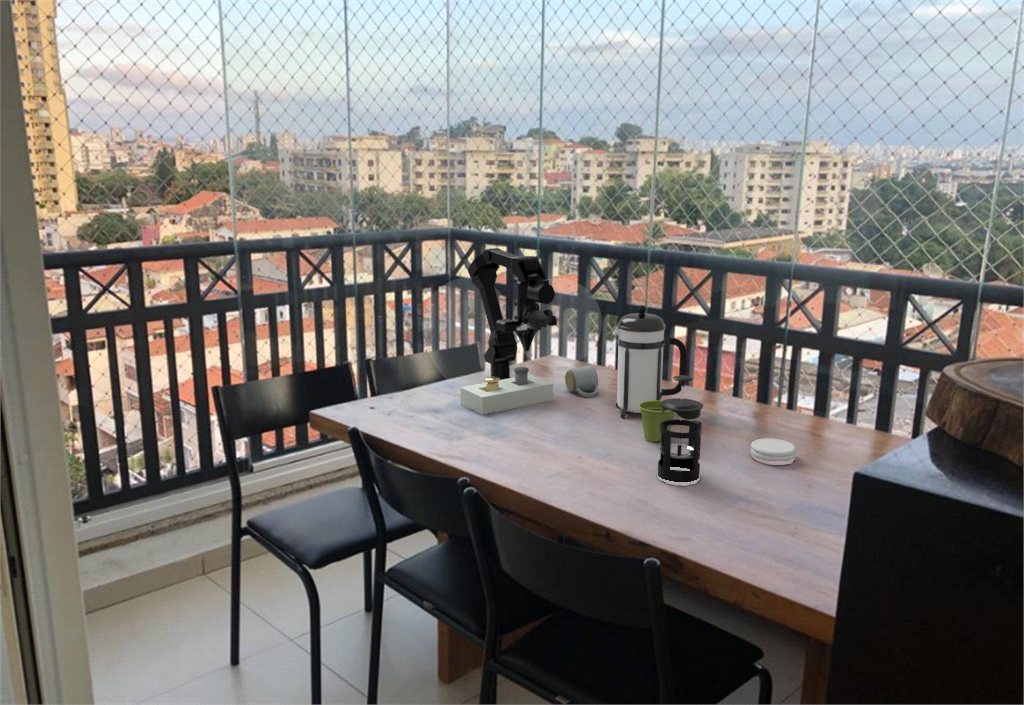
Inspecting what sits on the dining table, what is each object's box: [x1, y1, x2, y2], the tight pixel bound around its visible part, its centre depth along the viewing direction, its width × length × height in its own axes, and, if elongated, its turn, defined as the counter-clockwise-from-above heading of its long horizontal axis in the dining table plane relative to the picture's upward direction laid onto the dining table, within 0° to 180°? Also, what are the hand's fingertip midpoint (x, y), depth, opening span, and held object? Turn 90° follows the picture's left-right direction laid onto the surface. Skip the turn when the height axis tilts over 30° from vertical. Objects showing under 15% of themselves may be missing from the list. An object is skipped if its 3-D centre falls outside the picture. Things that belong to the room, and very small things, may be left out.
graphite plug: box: [513, 366, 529, 386], centre depth 230 cm, size 4×4×8 cm
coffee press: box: [612, 304, 688, 419], centre depth 215 cm, size 17×16×30 cm
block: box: [459, 374, 554, 415], centre depth 228 cm, size 12×24×5 cm, turn 123°
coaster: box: [750, 437, 797, 461], centre depth 184 cm, size 10×10×4 cm
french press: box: [657, 374, 704, 482], centre depth 171 cm, size 12×9×23 cm
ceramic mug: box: [564, 364, 599, 398], centre depth 236 cm, size 11×8×8 cm
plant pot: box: [639, 400, 676, 442], centre depth 196 cm, size 9×9×9 cm
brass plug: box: [484, 376, 500, 392], centre depth 224 cm, size 4×4×8 cm
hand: (526, 350), depth 236 cm, fingers closed
